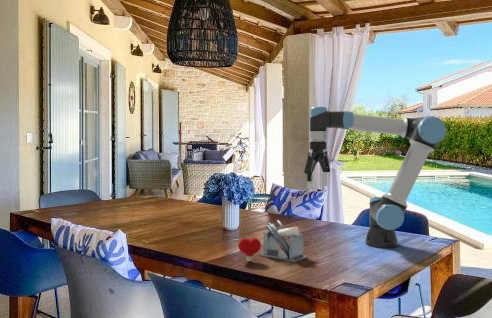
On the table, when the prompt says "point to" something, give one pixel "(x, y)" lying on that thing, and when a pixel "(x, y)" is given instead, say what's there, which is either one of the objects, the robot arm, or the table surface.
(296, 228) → the peg
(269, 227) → the chute
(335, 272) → the table surface
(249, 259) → the red heart on stand
